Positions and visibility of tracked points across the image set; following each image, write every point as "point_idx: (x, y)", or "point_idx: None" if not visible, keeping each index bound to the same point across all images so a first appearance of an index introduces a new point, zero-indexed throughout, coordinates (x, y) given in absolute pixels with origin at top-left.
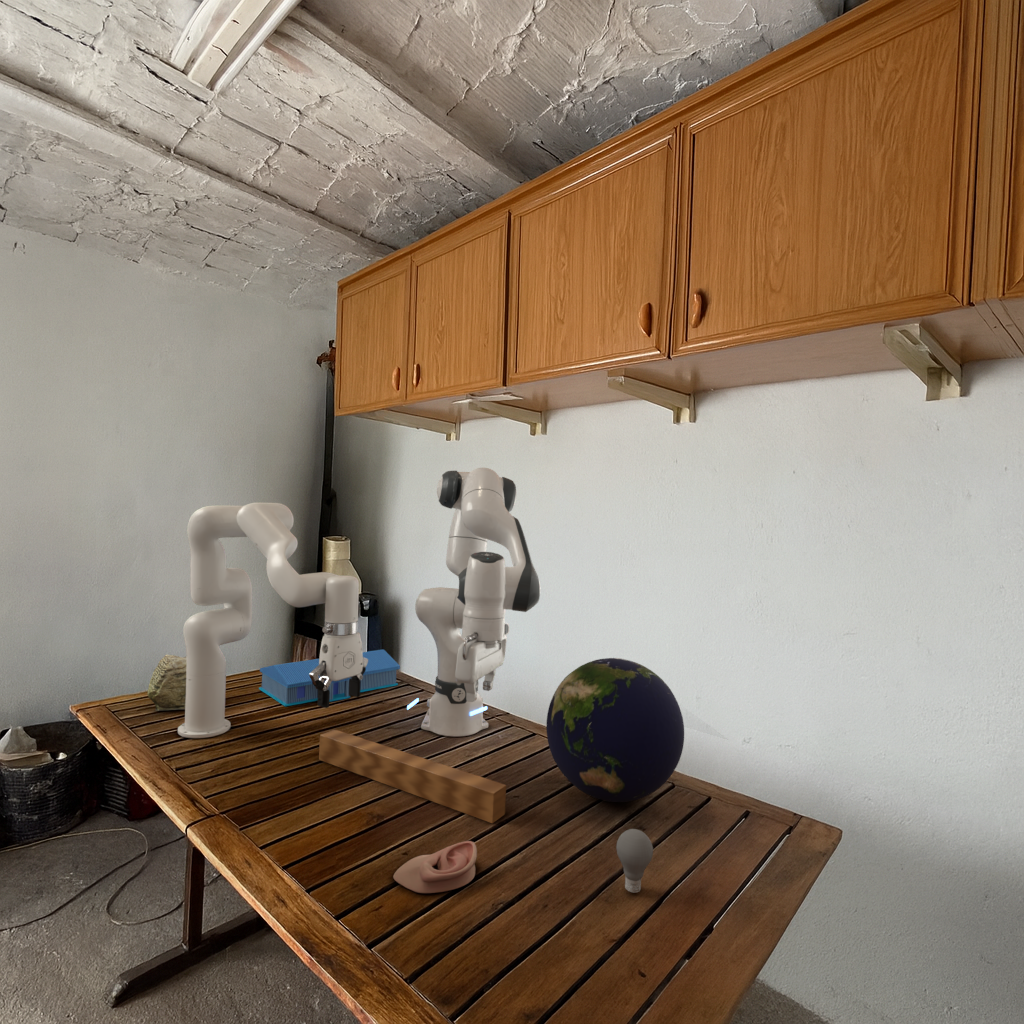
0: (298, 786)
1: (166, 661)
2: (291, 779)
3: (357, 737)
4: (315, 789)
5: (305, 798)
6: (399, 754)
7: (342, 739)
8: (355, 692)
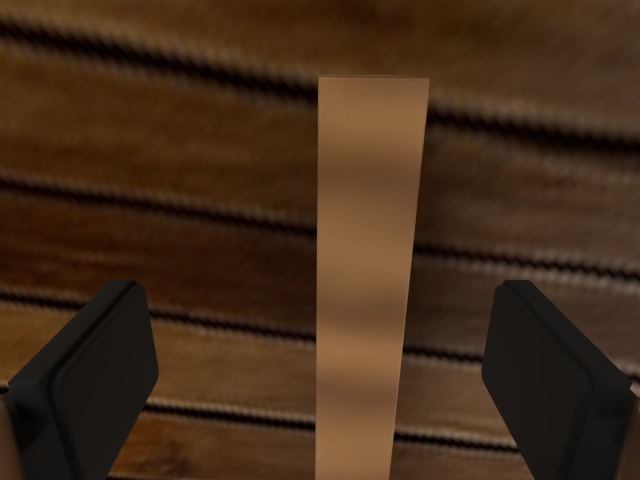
0: (122, 199)
1: None
2: (134, 134)
3: (404, 256)
4: (152, 258)
5: (95, 278)
6: (362, 467)
7: (344, 220)
8: (498, 379)
